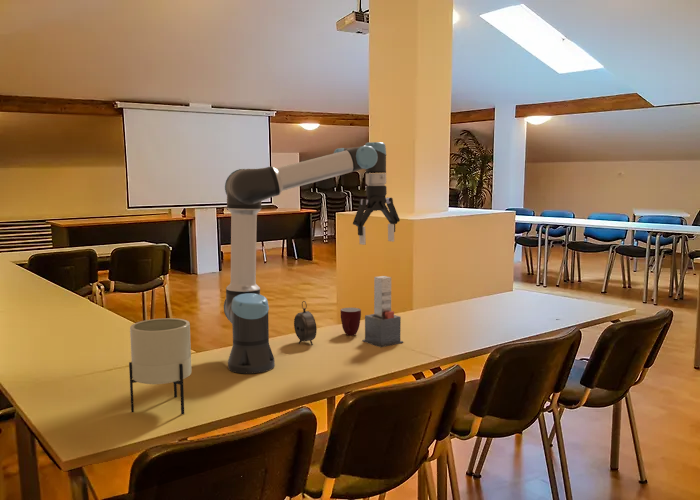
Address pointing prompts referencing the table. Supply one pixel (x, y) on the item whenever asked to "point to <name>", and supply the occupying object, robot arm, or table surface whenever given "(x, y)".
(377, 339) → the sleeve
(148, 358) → the planter
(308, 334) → the alarm clock
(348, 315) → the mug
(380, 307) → the column
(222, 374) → the table surface
